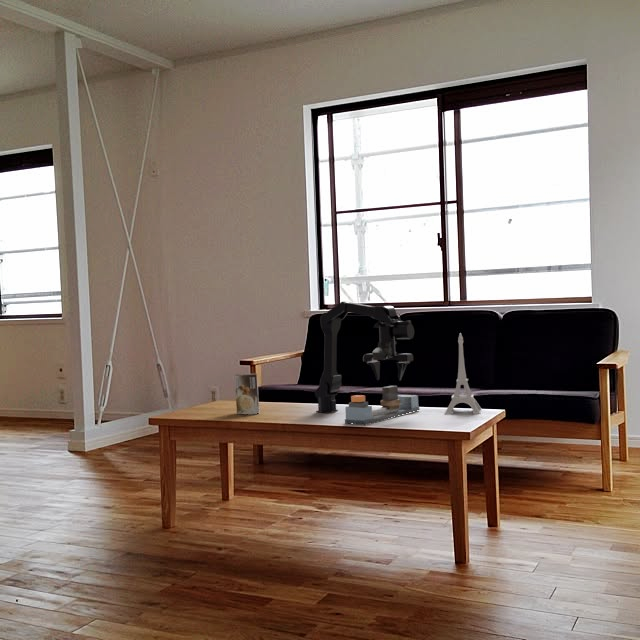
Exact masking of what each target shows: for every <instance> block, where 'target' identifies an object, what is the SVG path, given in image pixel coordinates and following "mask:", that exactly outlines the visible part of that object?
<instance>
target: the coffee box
mask: <svg viewBox="0 0 640 640" xmlns="http://www.w3.org/2000/svg"><path fill="white" fill-rule="evenodd" d="M234 386H235V387H234V389H235V404H236V405H235V406H236V415H237V414H248V415H258V414H257V413H259V414H260V401H259V400H260V399H259V385H258V373H239V374H237V373H236V374H234Z"/></svg>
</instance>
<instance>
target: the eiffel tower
mask: <svg viewBox="0 0 640 640" xmlns="http://www.w3.org/2000/svg"><path fill="white" fill-rule="evenodd" d="M457 339H458V340H457V342H458V369H457V371H458V372H457V379H456V380H455V381H456V385H455V386H456V387H455V390H454V393H453V394H452V395H451V401H450V403H449V405H448V406H447V408H446V409H445V412H443V414H444V415H452V411H454V410H455V408H454V407H455V406H456V405H458V404H460V403H461V404H462V403H464V404H466V405H468V406H470V407H471V409H472V415H481V411H482V409H483V408H482V407H481V406H480V404H479V403H478V401H477V400H476V399H475V398H474V395H475V394H472V391H471V389H470V386H469V383H468V381H469V378H467V373H466V367H465V357H464V345H463V344H464V337H463V335H462V333H461V332H460V333H459V335H458V338H457ZM462 385H463V388H464V392H465V394H460V391H461V386H462Z"/></svg>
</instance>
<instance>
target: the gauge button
mask: <svg viewBox="0 0 640 640" xmlns="http://www.w3.org/2000/svg"><path fill="white" fill-rule="evenodd" d="M350 400H351V401H350V402H363V401H364V402H366V395H362V394H359V395H358V394H356V395H350Z"/></svg>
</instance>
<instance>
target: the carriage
mask: <svg viewBox="0 0 640 640" xmlns="http://www.w3.org/2000/svg"><path fill="white" fill-rule="evenodd" d="M381 389H382V391H381V393H382V399H381V400H380V406H381V408H382V407H386V406H389V410H394V409H398V408H399V405H400V399H398V395H399V393H398V391H399V388H398V385H388V386H382V387H381Z"/></svg>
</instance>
